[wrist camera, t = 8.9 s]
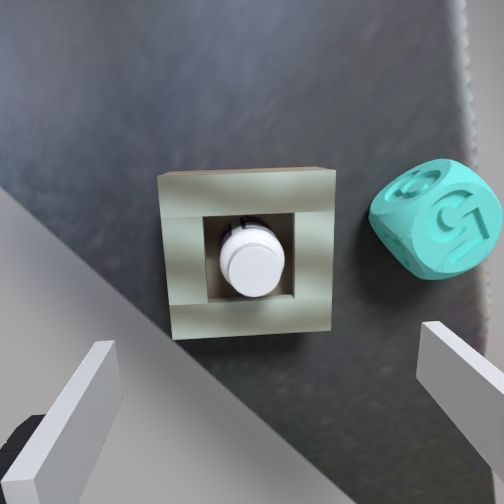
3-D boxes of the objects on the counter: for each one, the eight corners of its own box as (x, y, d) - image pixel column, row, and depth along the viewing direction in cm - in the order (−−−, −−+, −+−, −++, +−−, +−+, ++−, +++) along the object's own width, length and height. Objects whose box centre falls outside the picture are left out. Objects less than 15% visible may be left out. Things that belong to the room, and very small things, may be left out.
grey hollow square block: (170, 171, 35) (156, 176, 28) (315, 166, 36) (335, 170, 29) (182, 306, 39) (172, 339, 32) (313, 299, 39) (330, 330, 33)
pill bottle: (238, 276, 38) (241, 318, 28) (210, 232, 36) (204, 261, 27) (284, 250, 37) (303, 283, 28) (257, 204, 36) (268, 223, 26)
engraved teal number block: (398, 265, 39) (440, 293, 31) (356, 208, 37) (390, 223, 29) (461, 217, 38) (521, 234, 30) (422, 156, 36) (474, 158, 28)
